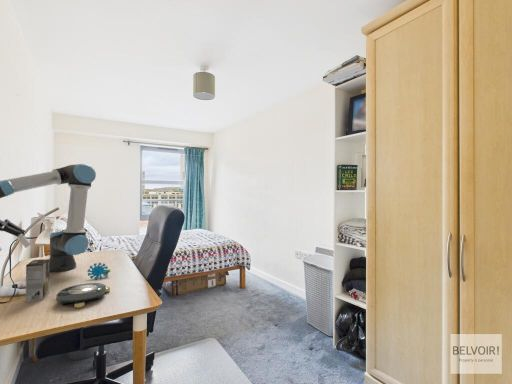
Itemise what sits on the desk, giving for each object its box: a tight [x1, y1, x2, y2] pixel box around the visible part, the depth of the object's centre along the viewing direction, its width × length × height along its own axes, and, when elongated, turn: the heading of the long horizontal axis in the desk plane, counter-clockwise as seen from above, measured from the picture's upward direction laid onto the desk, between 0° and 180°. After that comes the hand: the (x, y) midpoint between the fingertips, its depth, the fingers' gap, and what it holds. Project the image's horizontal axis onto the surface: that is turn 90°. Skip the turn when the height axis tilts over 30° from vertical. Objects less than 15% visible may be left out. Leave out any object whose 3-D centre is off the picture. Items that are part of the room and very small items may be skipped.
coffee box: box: [25, 258, 50, 303], centre depth 120 cm, size 9×6×16 cm
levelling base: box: [55, 282, 111, 310], centre depth 119 cm, size 21×21×5 cm
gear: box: [87, 262, 111, 280], centre depth 150 cm, size 11×6×10 cm
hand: (14, 248), depth 121 cm, fingers open, 13 cm apart
